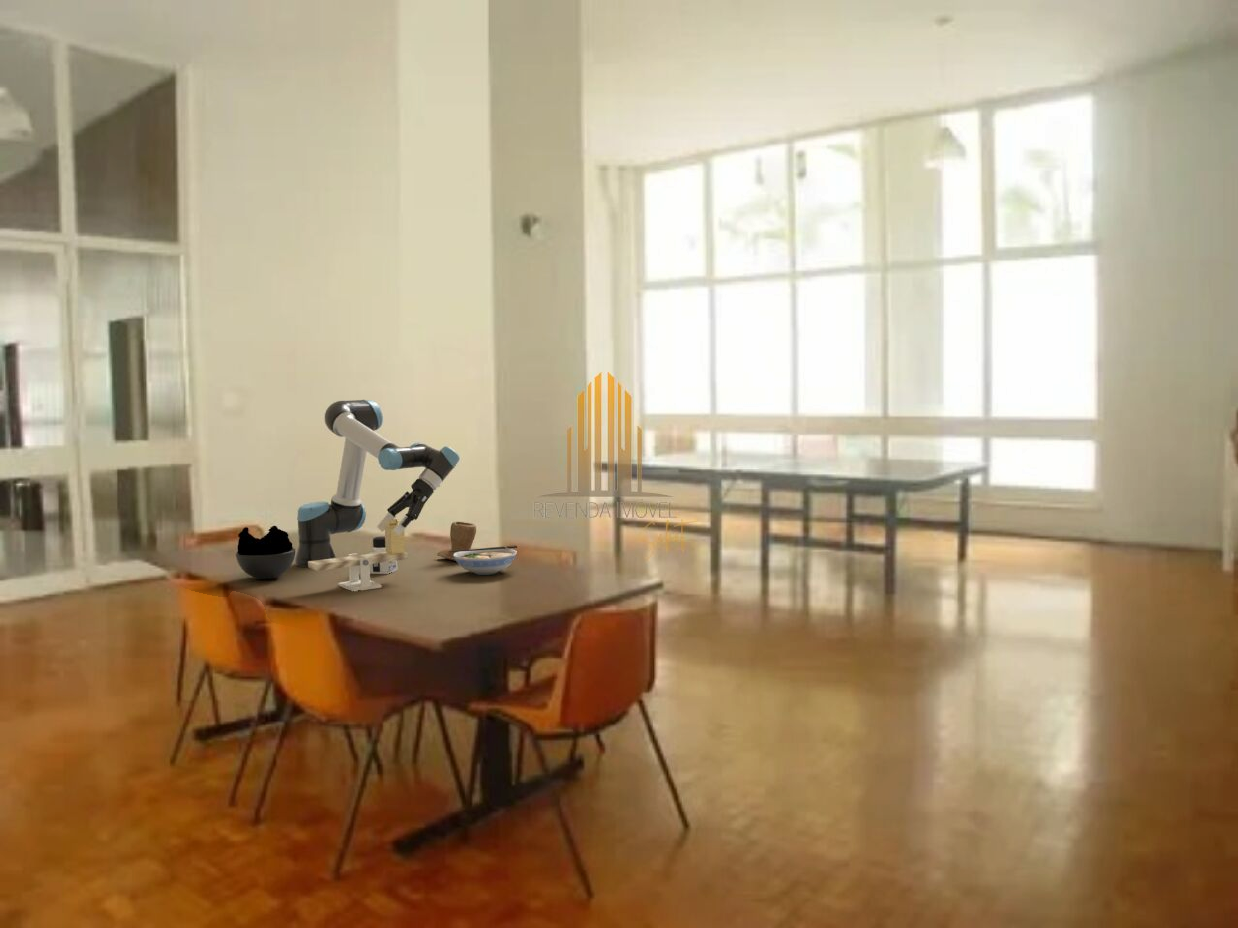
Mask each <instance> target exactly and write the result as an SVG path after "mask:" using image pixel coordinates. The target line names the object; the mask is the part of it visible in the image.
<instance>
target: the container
mask: <svg viewBox="0 0 1238 928" xmlns="http://www.w3.org/2000/svg"><path fill="white" fill-rule="evenodd" d="M372 548H373V551H369V552H368V553H367V554H374V553H382V552H386V548H385V535H381V536H376V537H373V538H372ZM396 571H398V561H390V562H382V563H374V564H370V575H375V574H376V575H390V574H392V573H394V572H396ZM391 572H392V573H391ZM389 573H390V574H389Z"/></svg>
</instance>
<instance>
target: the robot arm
mask: <svg viewBox="0 0 1238 928" xmlns="http://www.w3.org/2000/svg"><path fill="white" fill-rule="evenodd" d="M383 418H384V416H383V412H382V410H381V407H380V405H378V403H377V402H376V401H374V400H370V399H369V400H368V399H367V400H366V399H358V400H357V399H356V400H354V399H353V400H338V401H336V402H333V403H331V404H330V405H329V406H328V407H327V409H325V412H324V424H325V426H326V427H327V429H328V430H329V431H330V432H332V433H333V434H335V436H337V437H340V438H341V437H344V438H345V440H344V447H343V452H342V459H341V463H340V470H339V474H338V481H337V488H336V493H335V494H334V495H332V496H331V498H330V499H331V500H330V504H329V502H327V501H316V502H308V503H306V504H302V505H301V506H299V508H298V509H297V528H298V529H297V531H298V533H297V534H298V546H297V551H296V553H295V557H294V566H296V567H297V568H298V567H299V568H308V561H316V560H325V559H333V558H337V557H336V554H335V551H334V548H333V546H332V543H331V535H335V534H336V535H337V534H342V533H351V532H354V531H357V530H359V529H361V527H363V526H364V523H365V521H366V517H367V513H366V512H367V511H366V508H365V505H364V504H363V501H362V499H361V498H360V497H359V496H360V490H361V487H362V486H361V485H362V481H363V475H364V468H365V463H366V457H367V453H369V454H370V455H372V456H374V458H377V460H378V464H379V465H380V468H382V469H384V470H386V471H388V470H389V471H395V470H402V469H412V468H413V469H414V468H424V469H423V471H422V472H421V473H420V474H419V475H418V478H416V479H415V481H413V483H412V484H411V487H410V488H411V489H412V491H411V492H409V491H406V492H405V493H404V494H403V495H402V496H401V497H400V498H399V499H398V500H396V501H395V502H394V503H392V505H390V506H389V507H388V508H387V509H386V511H387V513H386V515H385V516H384V517H383V518H382V519H381V521H380V522H379V523H378V524H377V526H376V528H378V530H380V532H385V524H390V520H393V519H395V518H396V517H397V515H398V514H399V513H401V512H402V511H404V510H405V509H407V508H408V509H407V510H408V511H407V513H406V514H405V516H403V518H402V519H401V520H399V524H398V525H397V526H396V527H395V529H394V530H393V532H395V533H396V534H397V535H398V536H399V535H400V534H401V533H402V532H403V531H404V532H405V529H406V528H407V527H408V526H409V525H410V523H411V522H412V521H416V520H417V519H418V518H419V516H420V514H421V512H422V510H423V509H424V507H425V504H426V503H427V502H428V501H429V499H430V497H431V496H432V495H433V494H434V491H436V490H437V489H438V488H440V487H441V484H442V483H443V482H444V480H445V479H446V478H447V477H448V476H449V474H450V473H451V472H452V471H453V470H454V469H455V467H456V466H457V464H458V463H459V461H460V460H461V459H460V455H459V454H458V452H457V451H455V450H454V449H453V448H451V447H450V446H448V445H447V446H443V447H442V448H441V449H440V450H439V449H438V450H437V449H435V448H434V447H431V446H429V445H427V444H425V443H420V442H414V443H413V444H411V445H410V446H404V447H403V446H401V447H400V446H398V445H397V444H395V443H393V442H391V441H390V440H388V439H386V438H385V437H384V436H382V435H381V434H379V433H377V432H376V431H377V430H380V428H382V426H383V421H384V420H383Z"/></svg>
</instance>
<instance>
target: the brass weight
mask: <svg viewBox="0 0 1238 928" xmlns="http://www.w3.org/2000/svg"><path fill="white" fill-rule="evenodd" d="M399 522H400V520H399V519H397V518H396V519H395V518H394V519H393V520H390V524H385V530H384V536H385V548H386V553H388V554H391V555H392V554H401V553H406V540H405V530H404V531H403V532H402V533H401V534H400V535H399V536H398V535H397V534H396V533H395V532H393V530H394V529H395V527H396V526H397V525H398V524H399Z"/></svg>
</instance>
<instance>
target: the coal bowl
mask: <svg viewBox="0 0 1238 928" xmlns="http://www.w3.org/2000/svg"><path fill="white" fill-rule="evenodd" d="M249 531H250V529H249V526H248V527H247V526H245V527H243V529H242V530H241V531H240V532H239V533H238V535H237V537H238V538H239V539H238V541H237V552H235V558H236V560H237V561H236V562H237V564H238V565H239V567H240V569H241V570H242V571H243V572H244V573H245V574H246V575H248V576H249V577H251V578H255V579H256V580H257V579H259V580H272V579H276V578H278V577H280V576H282V575H283V574H284V573H286V572H287V571H288V569H290V567H291V566H292V565H293V562H294V561H295V557H296V548H294V547H293V543H292V542H291V541H290V538H289V533H288V532H287V531H285V530H282V529H280V528H278V526H277V525H272V526H271V527H269V529H268V530H267V531H268V532H267V533H266V534H265V535H264V536H263V537H261V538H257V537H254V536H253V535H252V534H251V533H250V532H249Z"/></svg>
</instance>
